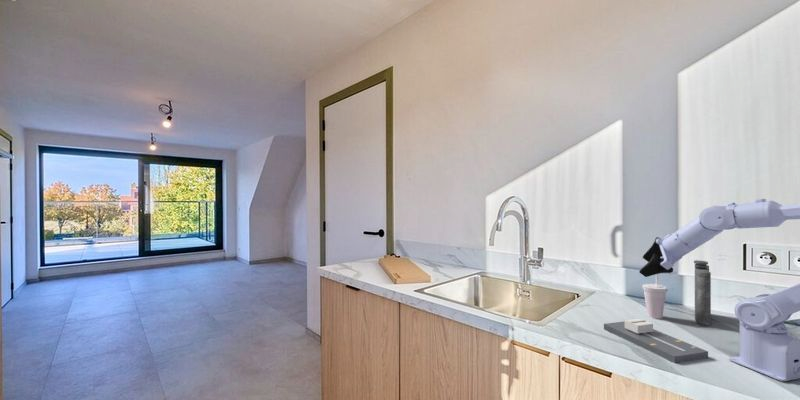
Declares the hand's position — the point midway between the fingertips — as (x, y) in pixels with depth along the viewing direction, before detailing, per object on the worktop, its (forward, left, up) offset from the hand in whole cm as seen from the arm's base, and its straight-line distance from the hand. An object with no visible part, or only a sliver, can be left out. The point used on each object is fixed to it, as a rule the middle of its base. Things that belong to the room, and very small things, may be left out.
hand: (644, 266), depth 96 cm
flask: (+1, -23, -18) cm, 30 cm away
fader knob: (-4, +7, -16) cm, 18 cm away
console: (-8, +7, -18) cm, 21 cm away
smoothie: (+6, -11, -18) cm, 22 cm away
